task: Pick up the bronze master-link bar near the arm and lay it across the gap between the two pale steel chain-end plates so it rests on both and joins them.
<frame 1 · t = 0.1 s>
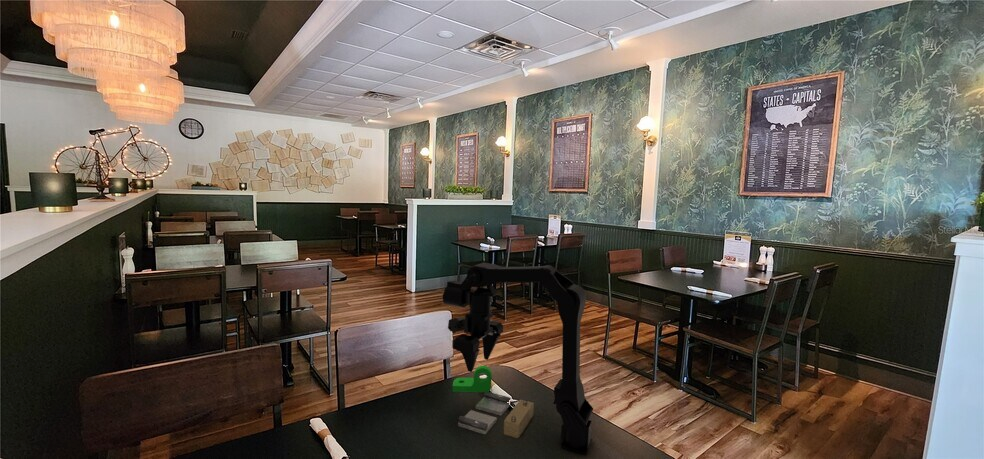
hand: (478, 365, 113), 15 cm above the table, tool pointing down, fingers open, 9 cm apart
mechanical part: (472, 388, 131), on the table
chain end 2: (493, 406, 120), on the table
chain end 1: (477, 423, 111), on the table
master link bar: (519, 425, 111), on the table
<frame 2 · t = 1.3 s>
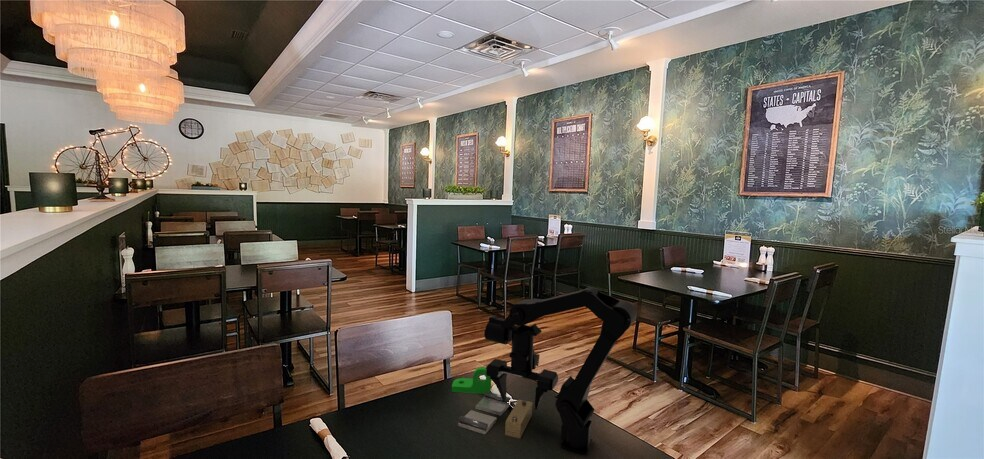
hand: (520, 404, 110), 6 cm above the table, tool pointing down, fingers open, 9 cm apart
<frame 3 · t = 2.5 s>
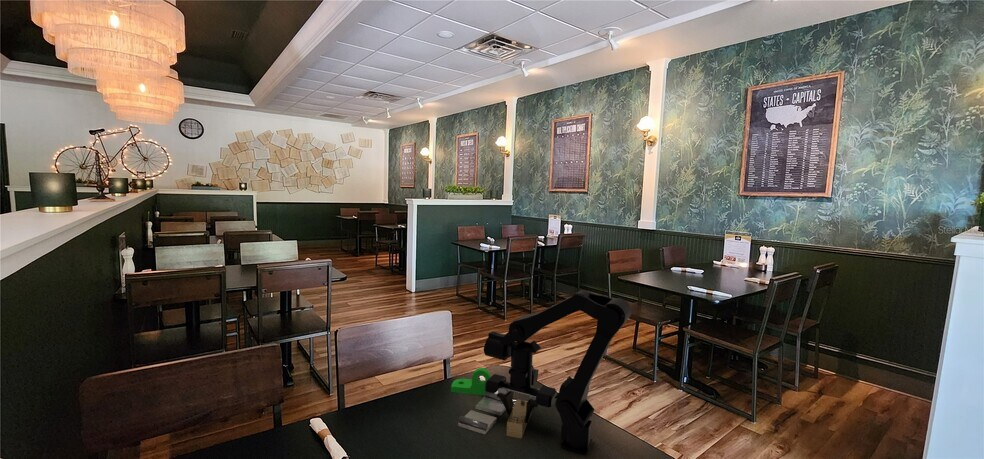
hand: (519, 420, 111), 1 cm above the table, tool pointing down, fingers closed on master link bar, 4 cm apart
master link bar: (518, 425, 111), on the table, touching gripper
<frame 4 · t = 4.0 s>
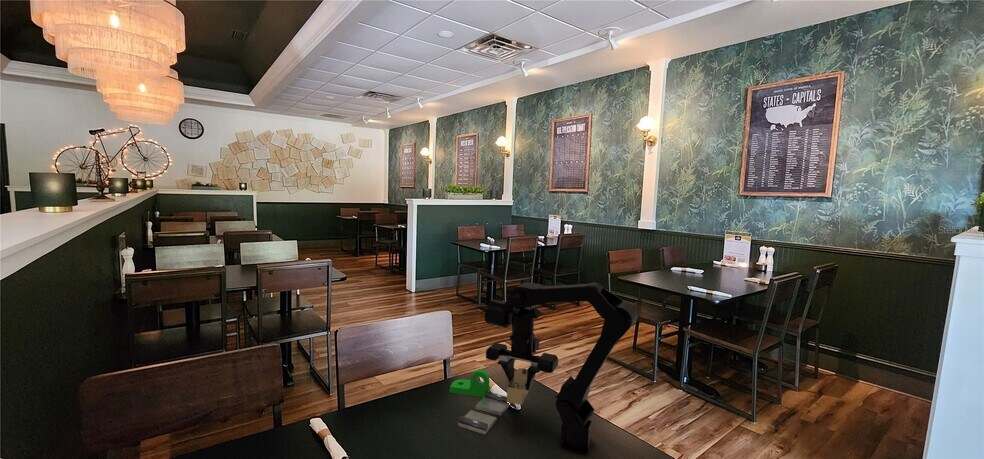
hand: (520, 387, 110), 10 cm above the table, tool pointing down, fingers closed on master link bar, 4 cm apart
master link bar: (519, 392, 110), point 9 cm above the table, touching gripper
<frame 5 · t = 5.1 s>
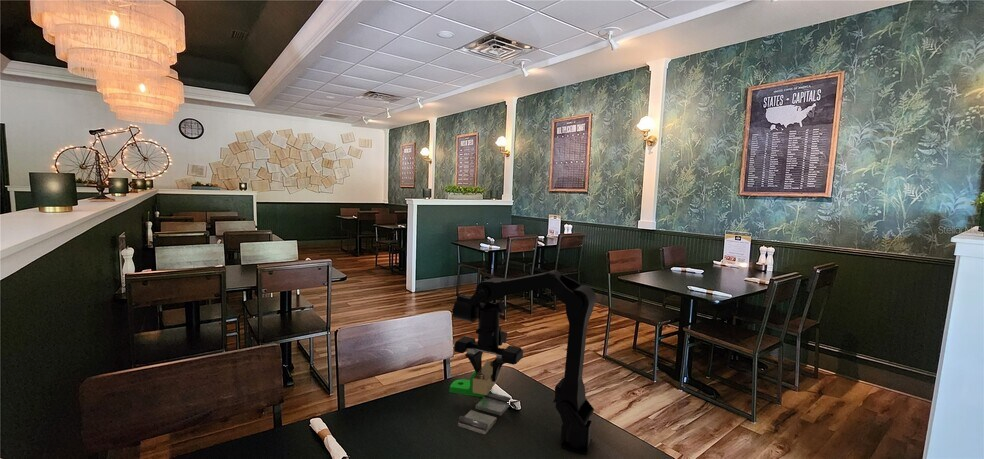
hand: (487, 379, 114), 10 cm above the table, tool pointing down, fingers closed on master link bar, 4 cm apart
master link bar: (486, 384, 114), point 9 cm above the table, touching gripper
when the fingers open (3 cm above the table, at t = 6.9 s): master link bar drops 1 cm, resting on chain end 1, chain end 2.
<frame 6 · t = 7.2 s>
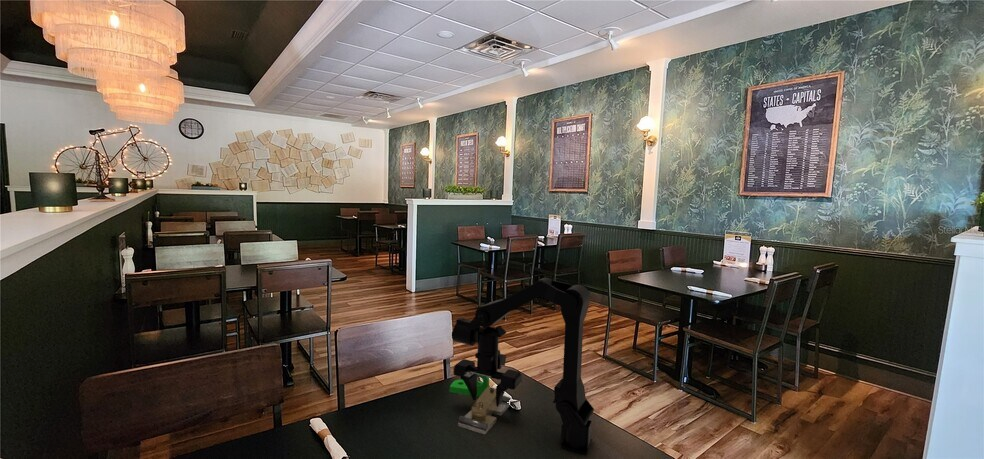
hand: (486, 402, 115), 3 cm above the table, tool pointing down, fingers open, 7 cm apart
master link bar: (486, 411, 115), point 1 cm above the table, touching chain end 1, chain end 2
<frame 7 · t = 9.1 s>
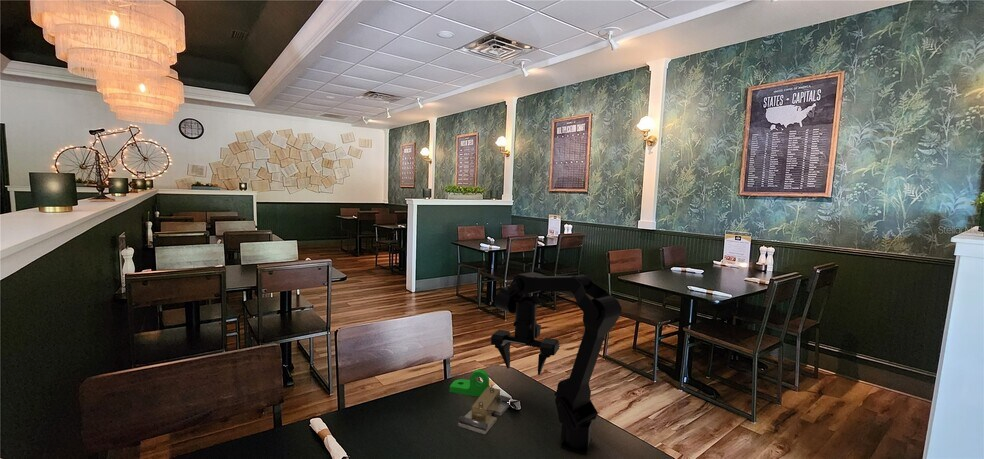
hand: (523, 371, 117), 12 cm above the table, tool pointing down, fingers open, 9 cm apart
mechanical part: (471, 391, 129), on the table, touching chain end 2
everything else where it was.
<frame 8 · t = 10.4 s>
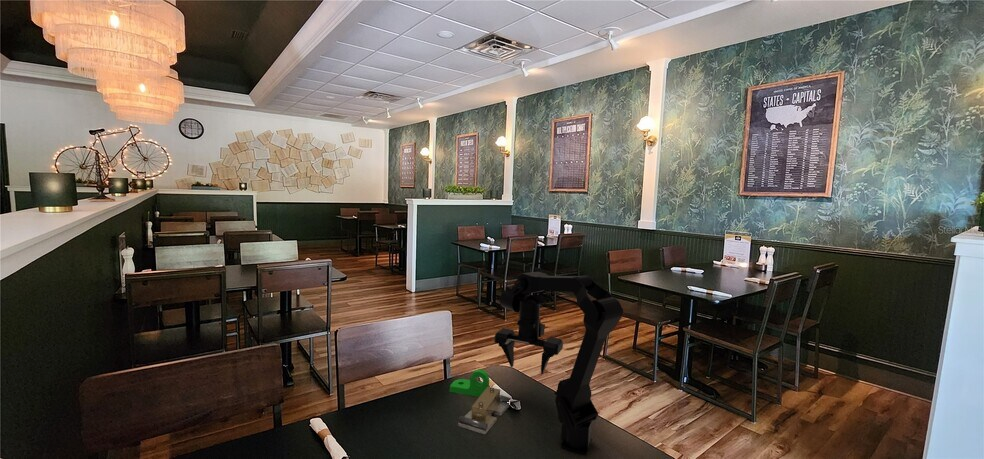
hand: (527, 370, 117), 12 cm above the table, tool pointing down, fingers open, 9 cm apart
mechanical part: (471, 391, 129), on the table
everything else where it was.
at the end: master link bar 0.1 cm from the target spot, point 1.0 cm above the table; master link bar touching chain end 1, chain end 2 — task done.
